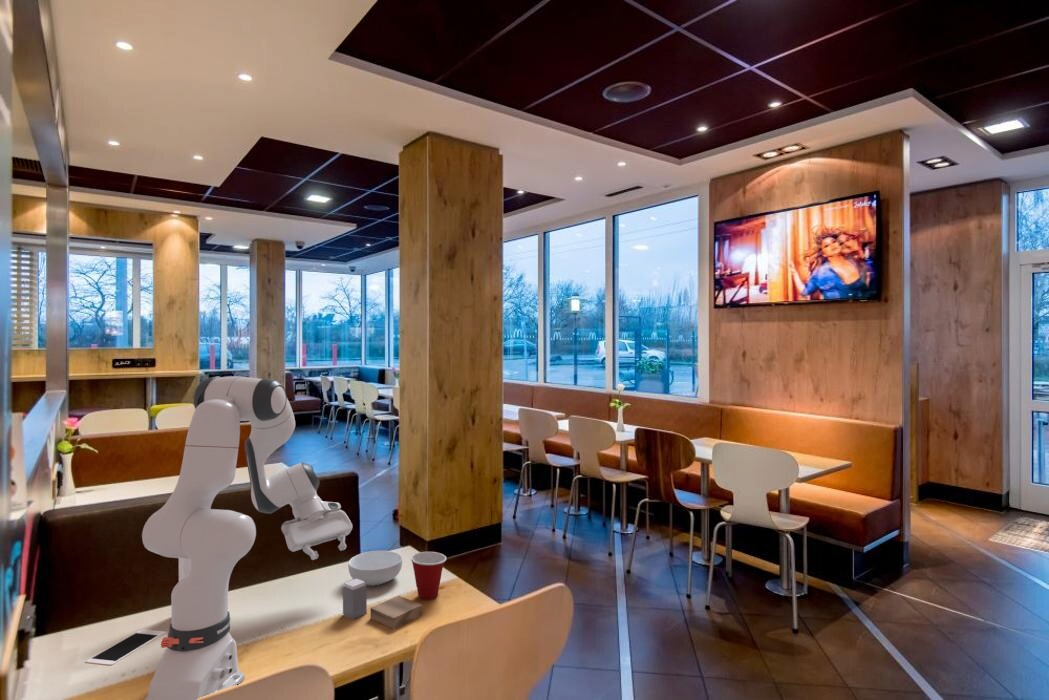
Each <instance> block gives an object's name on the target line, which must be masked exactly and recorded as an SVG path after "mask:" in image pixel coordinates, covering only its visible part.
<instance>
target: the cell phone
mask: <svg viewBox="0 0 1049 700" xmlns="http://www.w3.org/2000/svg"><path fill="white" fill-rule="evenodd" d="M164 634H166V631H164V630H163V631H162V630H154V629H153V630H152V629H139V630H137V631H136V632H134V633H132V634H130V635H129V636H127V637H125V638H123V639H121V640H119V641H118V642H116V643H115V644H113V645H111V646H109V647H108V648H106V649H104V650H102V651H100V652H99V653H96V654H95V655H93V656H92V657H90V658H88V659H86V660H85V661H84V662H85V663H86V664H92V665H93V664H95V665H103V666H113V665H115V664H117V663H118V662H120V661H122V660H123V659H125V658H126V657H128V656H130V655H131V654H133V653H135V652H136V651H138V650H140V649H141V648H143V647H145V646H146V645H148V644H150V643H151V642H153V641H154V640H156V639H158V638H159V637H161V636H163V635H164Z"/></svg>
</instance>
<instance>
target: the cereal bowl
mask: <svg viewBox="0 0 1049 700" xmlns="http://www.w3.org/2000/svg"><path fill="white" fill-rule="evenodd" d="M402 566H403V556H402V555H401V554H400V553H398V552H395V551H392V550H371V551H366V552H362V553H359V554H356V555H355V556H352V557H351V558H350V559H349V561H348V572H349V575H350V577H351V578H352V580H354V579H359V580H361V581H364V582H365V585H366V586H369V585H371V586H370V587H374V586H373V585H377V586H381V585H384V584H385V582H386V583H387V582H389V581H391V580H393V579H395V578H396V577H397V576H398V575H399V574H400V572H401V570H402V568H403V567H402ZM383 583H384V584H383ZM380 584H381V585H380Z"/></svg>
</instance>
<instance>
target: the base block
mask: <svg viewBox="0 0 1049 700" xmlns="http://www.w3.org/2000/svg"><path fill="white" fill-rule="evenodd" d="M369 609H370V619H371V620H372V621H374V622H377V623H379V624H381V625H384V626H386V627H388V628H389V629H392V630H395V629H397V628H399V627H402V626H403V625H405V624H408V623H410V622H412V621H413V620H416V619H418V618H419V617H422V616H423V604H421V603H419V602H417V601H414V600H411V599H409V598H406V597H405V596H401V595H396V596H395V597H392V598H390V599H388V600H386V601H383V602H380V603H378V604H376V605H374V606H372V607H370V608H369Z"/></svg>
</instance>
